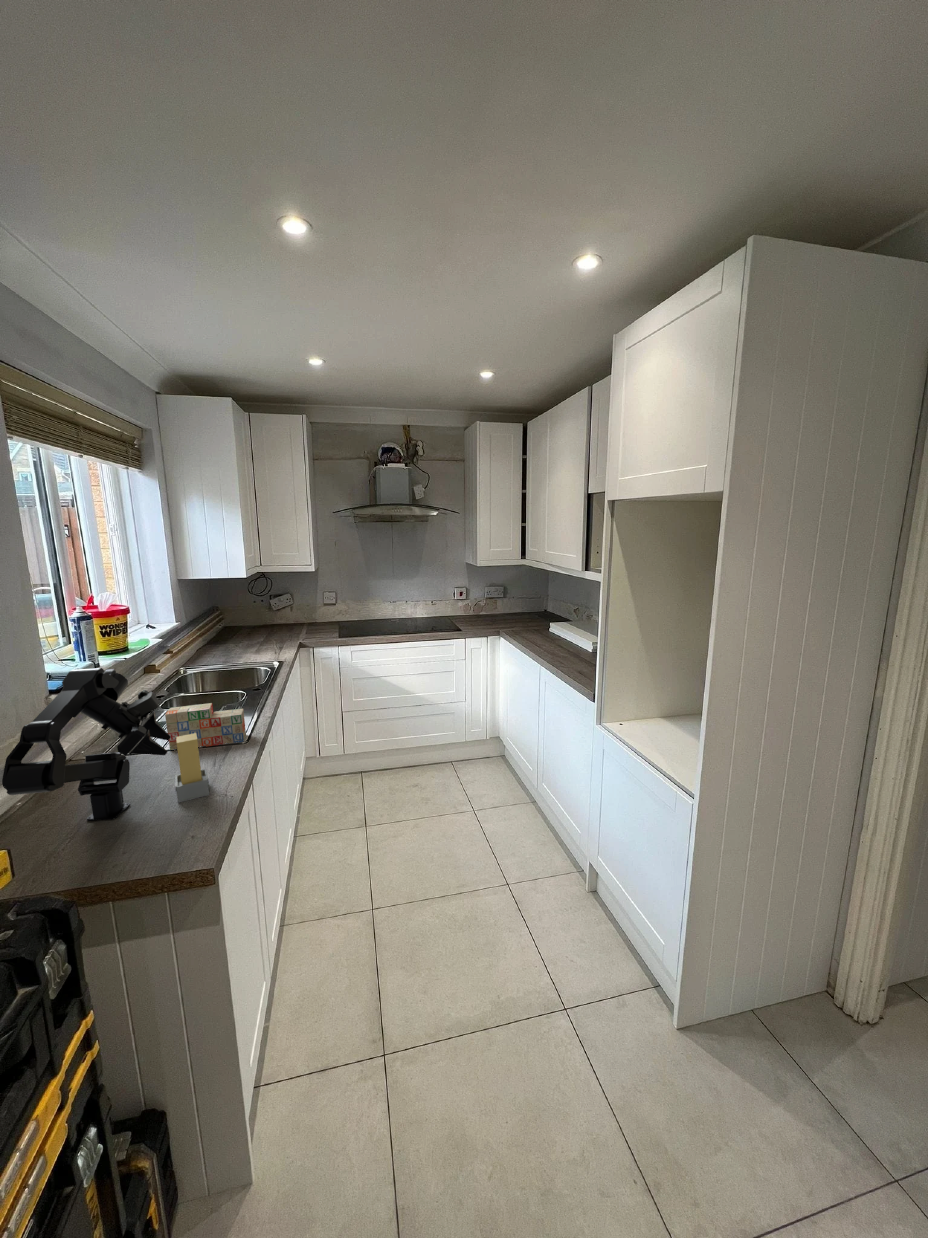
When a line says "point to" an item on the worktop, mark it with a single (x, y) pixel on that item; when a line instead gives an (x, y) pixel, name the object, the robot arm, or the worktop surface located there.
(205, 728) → the stack of blocks
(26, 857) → the worktop surface
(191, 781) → the mustard brick
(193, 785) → the base tray
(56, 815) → the worktop surface
